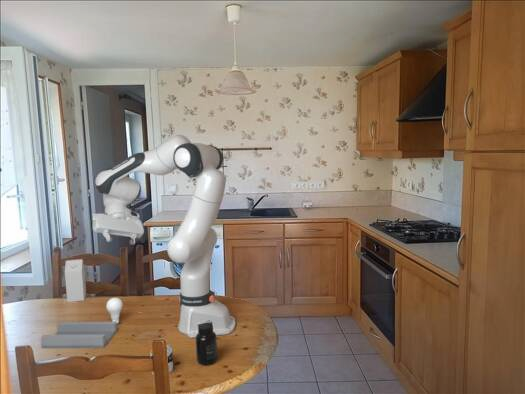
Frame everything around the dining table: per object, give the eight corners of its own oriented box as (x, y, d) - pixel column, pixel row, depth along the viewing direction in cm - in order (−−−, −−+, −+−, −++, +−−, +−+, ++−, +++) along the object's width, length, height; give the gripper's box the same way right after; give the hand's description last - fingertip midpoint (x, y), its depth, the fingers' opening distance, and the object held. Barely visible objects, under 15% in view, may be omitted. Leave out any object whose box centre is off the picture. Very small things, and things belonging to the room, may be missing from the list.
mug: (168, 377, 113) (167, 357, 112) (147, 376, 114) (146, 355, 113) (180, 359, 123) (179, 340, 122) (161, 358, 124) (160, 339, 123)
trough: (117, 331, 143) (116, 321, 142) (103, 347, 131) (102, 337, 130) (60, 331, 143) (59, 321, 143) (41, 348, 131) (40, 337, 131)
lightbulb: (118, 328, 145) (116, 301, 144) (104, 327, 146) (102, 300, 145) (126, 321, 151) (125, 295, 150) (113, 320, 152) (111, 294, 151)
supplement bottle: (218, 354, 126) (217, 320, 124) (216, 365, 119) (215, 330, 118) (197, 354, 126) (196, 321, 124) (195, 366, 119) (193, 331, 117)
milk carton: (70, 297, 177) (67, 258, 175) (86, 295, 179) (83, 257, 177) (67, 302, 170) (63, 263, 168) (84, 300, 173) (81, 261, 170)
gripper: (94, 206, 145) (98, 234, 137) (142, 214, 159) (148, 240, 151) (88, 216, 148) (91, 244, 140) (135, 224, 162) (141, 249, 154)
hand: (121, 242), depth 146 cm, fingers open, 8 cm apart
